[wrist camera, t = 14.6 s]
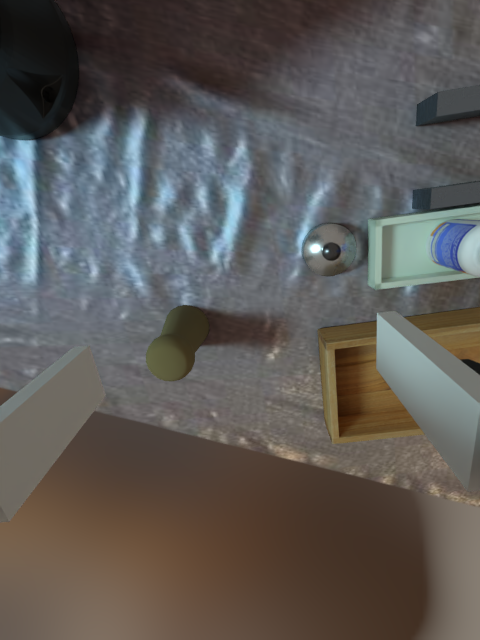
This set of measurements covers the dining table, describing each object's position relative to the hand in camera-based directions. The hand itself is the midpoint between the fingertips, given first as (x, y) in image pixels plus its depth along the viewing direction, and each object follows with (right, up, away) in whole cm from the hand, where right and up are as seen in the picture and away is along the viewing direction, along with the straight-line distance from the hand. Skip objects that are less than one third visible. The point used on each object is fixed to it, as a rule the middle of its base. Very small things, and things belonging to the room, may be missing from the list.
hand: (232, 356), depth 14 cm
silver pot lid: (+11, +10, +24) cm, 29 cm away
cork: (-7, +1, +29) cm, 29 cm away
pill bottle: (+25, +11, +23) cm, 36 cm away
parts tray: (+25, +11, +23) cm, 36 cm away
